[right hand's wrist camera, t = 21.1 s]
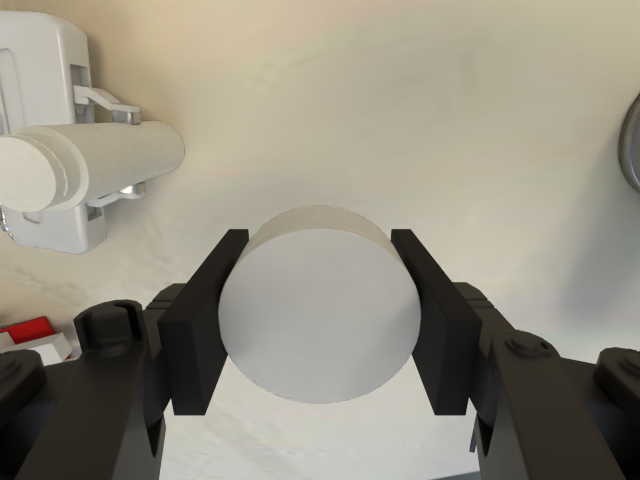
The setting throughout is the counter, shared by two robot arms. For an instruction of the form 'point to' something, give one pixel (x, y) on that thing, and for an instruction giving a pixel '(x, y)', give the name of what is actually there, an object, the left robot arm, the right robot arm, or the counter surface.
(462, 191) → the counter surface
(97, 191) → the jar
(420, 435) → the counter surface
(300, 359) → the white cylinder
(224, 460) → the counter surface
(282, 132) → the counter surface
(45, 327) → the toy
